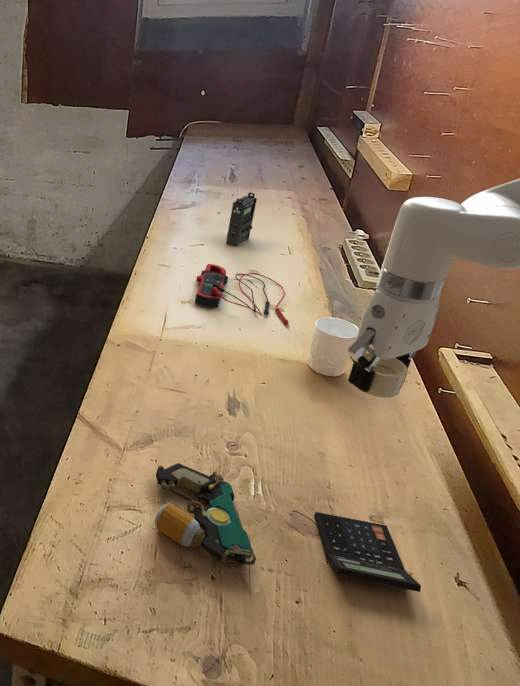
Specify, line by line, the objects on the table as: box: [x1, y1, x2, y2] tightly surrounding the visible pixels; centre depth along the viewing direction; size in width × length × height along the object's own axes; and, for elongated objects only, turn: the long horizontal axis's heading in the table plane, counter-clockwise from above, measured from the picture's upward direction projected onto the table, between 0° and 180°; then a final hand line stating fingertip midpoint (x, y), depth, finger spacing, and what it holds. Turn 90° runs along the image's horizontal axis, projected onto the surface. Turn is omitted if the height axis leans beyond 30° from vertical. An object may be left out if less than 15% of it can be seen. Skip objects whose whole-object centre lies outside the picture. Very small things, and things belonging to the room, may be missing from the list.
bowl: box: [354, 352, 409, 398], centre depth 89 cm, size 7×7×4 cm
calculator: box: [313, 511, 422, 593], centre depth 78 cm, size 9×12×3 cm
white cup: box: [307, 316, 360, 377], centre depth 116 cm, size 8×8×10 cm
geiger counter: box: [225, 191, 258, 247], centre depth 175 cm, size 10×4×15 cm, turn 132°
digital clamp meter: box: [194, 263, 291, 328], centre depth 146 cm, size 23×4×25 cm
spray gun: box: [154, 462, 257, 566], centre depth 85 cm, size 4×17×15 cm
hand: (375, 380), depth 90 cm, fingers closed on bowl, 6 cm apart
